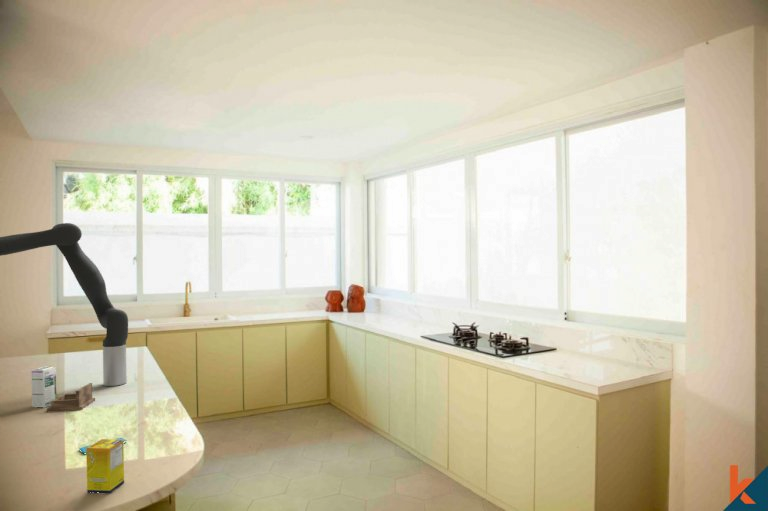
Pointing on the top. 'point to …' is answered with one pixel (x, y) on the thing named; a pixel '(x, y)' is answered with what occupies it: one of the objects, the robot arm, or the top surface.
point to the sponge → (90, 445)
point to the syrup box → (43, 386)
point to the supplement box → (105, 465)
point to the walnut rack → (73, 400)
